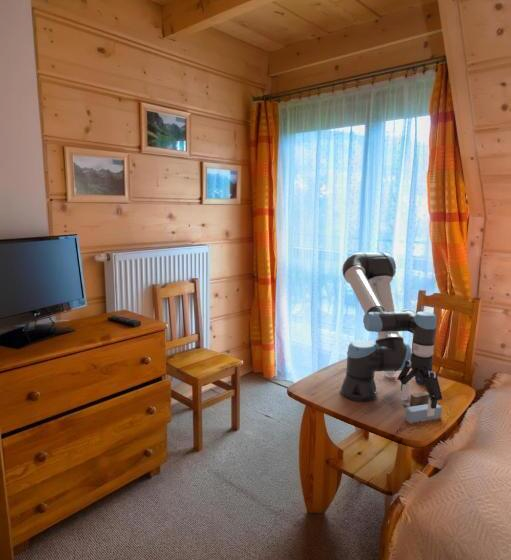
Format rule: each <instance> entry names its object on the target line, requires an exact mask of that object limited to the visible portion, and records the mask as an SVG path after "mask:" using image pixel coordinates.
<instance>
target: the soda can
mask: <svg viewBox="0 0 511 560" xmlns="http://www.w3.org/2000/svg"><path fill="white" fill-rule="evenodd" d="M433 364H434V362H433V361H432V366H431V367H430V370H431V371H432V372H433V366H434V365H433ZM426 379H428V378H426ZM414 380H415V382H416V383H417V384H419V385H424V386H425V384H424V382H422V380H421V379H419V378H418V377H415V376H414Z"/></svg>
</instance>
